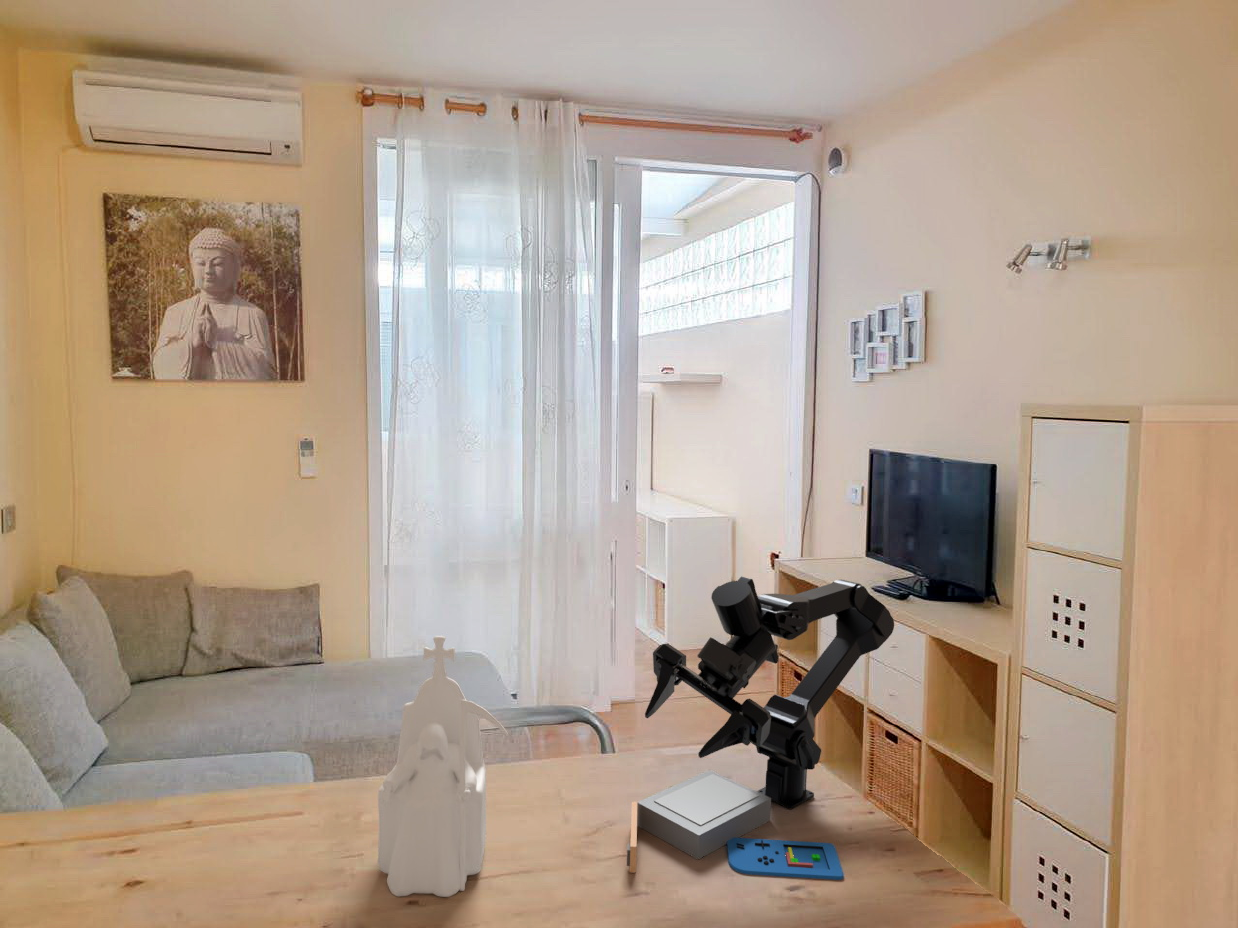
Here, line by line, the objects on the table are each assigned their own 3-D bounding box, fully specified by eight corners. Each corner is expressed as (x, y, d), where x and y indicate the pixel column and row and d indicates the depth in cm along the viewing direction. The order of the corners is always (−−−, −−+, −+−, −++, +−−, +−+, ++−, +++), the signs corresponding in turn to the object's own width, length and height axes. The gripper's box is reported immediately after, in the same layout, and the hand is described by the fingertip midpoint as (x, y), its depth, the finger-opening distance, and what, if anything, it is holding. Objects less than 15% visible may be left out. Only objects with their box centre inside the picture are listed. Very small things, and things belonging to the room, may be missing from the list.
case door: (636, 825, 128) (637, 801, 127) (635, 872, 116) (636, 846, 115) (628, 824, 128) (629, 801, 127) (626, 872, 116) (627, 846, 116)
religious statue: (367, 900, 109) (363, 668, 105) (394, 839, 123) (391, 631, 119) (506, 902, 110) (507, 670, 106) (517, 841, 123) (519, 634, 119)
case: (708, 790, 139) (709, 768, 139) (770, 820, 131) (771, 796, 130) (636, 824, 128) (637, 801, 128) (698, 859, 120) (699, 834, 119)
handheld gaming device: (726, 834, 125) (833, 840, 124) (726, 842, 125) (833, 848, 124) (729, 867, 117) (844, 874, 116) (729, 875, 117) (844, 882, 116)
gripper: (688, 592, 126) (616, 664, 118) (800, 662, 117) (730, 745, 109) (688, 637, 134) (621, 708, 126) (793, 706, 124) (727, 788, 116)
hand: (672, 735), depth 119 cm, fingers open, 9 cm apart
